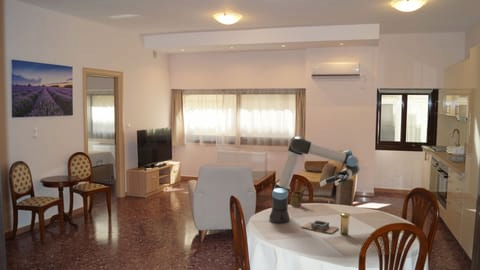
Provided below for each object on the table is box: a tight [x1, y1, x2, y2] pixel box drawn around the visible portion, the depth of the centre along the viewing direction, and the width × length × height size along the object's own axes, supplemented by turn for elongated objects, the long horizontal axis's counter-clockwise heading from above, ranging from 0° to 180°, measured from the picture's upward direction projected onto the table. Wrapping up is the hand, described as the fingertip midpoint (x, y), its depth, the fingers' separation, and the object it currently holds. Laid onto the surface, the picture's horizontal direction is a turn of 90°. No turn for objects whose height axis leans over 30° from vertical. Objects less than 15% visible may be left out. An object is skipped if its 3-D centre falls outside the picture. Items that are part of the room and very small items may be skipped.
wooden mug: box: [289, 185, 306, 207], centre depth 340 cm, size 9×14×18 cm, turn 55°
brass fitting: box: [339, 212, 351, 237], centre depth 265 cm, size 6×6×14 cm
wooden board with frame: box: [301, 219, 340, 235], centre depth 277 cm, size 22×14×4 cm, turn 57°
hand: (327, 184), depth 280 cm, fingers open, 13 cm apart
